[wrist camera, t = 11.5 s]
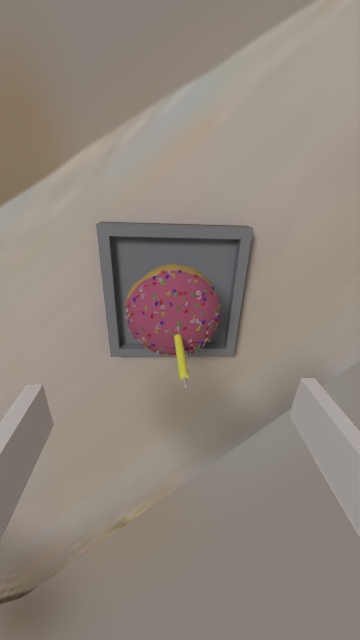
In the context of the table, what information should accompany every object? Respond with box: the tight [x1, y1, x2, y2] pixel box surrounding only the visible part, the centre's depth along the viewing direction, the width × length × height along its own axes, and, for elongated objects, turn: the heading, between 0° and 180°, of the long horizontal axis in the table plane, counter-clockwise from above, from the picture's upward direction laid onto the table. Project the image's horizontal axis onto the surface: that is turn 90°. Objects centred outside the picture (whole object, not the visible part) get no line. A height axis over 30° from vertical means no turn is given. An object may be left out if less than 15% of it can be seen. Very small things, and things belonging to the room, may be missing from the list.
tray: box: [96, 222, 253, 357], centre depth 26 cm, size 14×14×2 cm
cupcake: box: [125, 264, 220, 389], centre depth 21 cm, size 9×8×12 cm
